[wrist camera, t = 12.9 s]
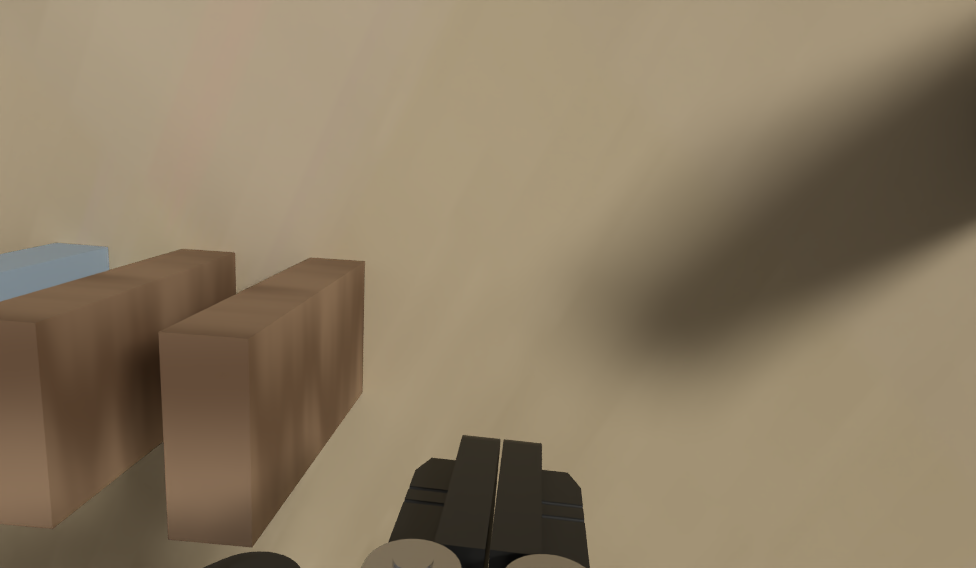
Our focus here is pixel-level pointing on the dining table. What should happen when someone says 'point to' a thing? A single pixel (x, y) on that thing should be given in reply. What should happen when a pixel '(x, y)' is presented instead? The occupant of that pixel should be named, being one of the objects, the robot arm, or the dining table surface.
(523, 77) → the dining table surface
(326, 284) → the tile
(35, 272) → the tile
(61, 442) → the tile
